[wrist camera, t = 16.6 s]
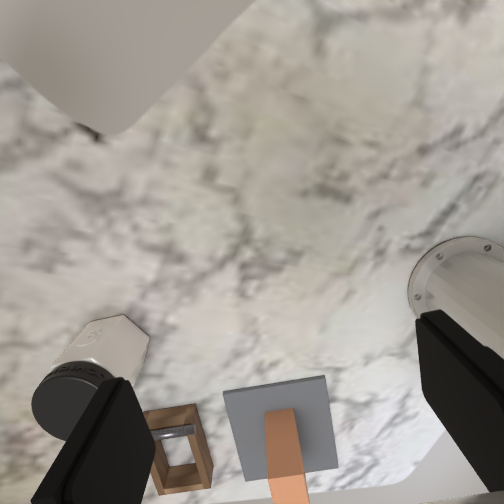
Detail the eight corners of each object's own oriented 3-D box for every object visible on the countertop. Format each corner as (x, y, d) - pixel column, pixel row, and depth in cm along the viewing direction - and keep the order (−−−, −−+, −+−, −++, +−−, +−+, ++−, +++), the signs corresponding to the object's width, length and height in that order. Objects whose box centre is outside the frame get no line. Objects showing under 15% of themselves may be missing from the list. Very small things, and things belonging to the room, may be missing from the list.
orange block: (293, 407, 48) (303, 474, 38) (301, 452, 50) (313, 524, 41) (264, 412, 48) (267, 479, 38) (274, 456, 50) (279, 529, 41)
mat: (324, 375, 47) (325, 378, 46) (337, 464, 52) (338, 468, 51) (223, 391, 48) (222, 394, 47) (245, 477, 52) (245, 481, 52)
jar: (140, 309, 44) (101, 367, 32) (159, 362, 46) (129, 435, 35) (73, 323, 44) (11, 385, 33) (96, 375, 47) (45, 450, 35)
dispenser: (198, 402, 48) (192, 429, 44) (216, 465, 52) (213, 495, 47) (140, 411, 49) (128, 439, 44) (161, 473, 52) (153, 504, 48)
